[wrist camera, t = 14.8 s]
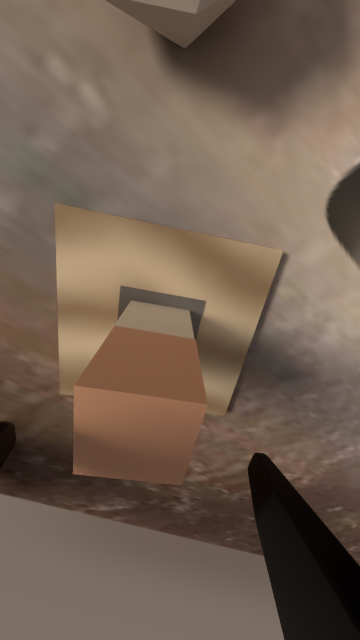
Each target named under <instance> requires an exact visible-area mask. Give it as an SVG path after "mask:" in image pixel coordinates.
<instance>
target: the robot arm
mask: <svg viewBox="0 0 360 640" xmlns="http://www.w3.org/2000/svg"><path fill="white" fill-rule="evenodd" d="M15 442H16V433H15V426H14V424H13V423H12V422H5V421H1V422H0V469H1V467H2V466H3V464H4V462H5V460H6V459H7V457H8V455H9V453H10V452H11V450H12V448H13V447H14V445H15ZM248 476H249V482H250V489H251V495H252V501H253V508H254V514H255V519H256V524H257V529H258V533H259V537H260V541H261V545H262V549H263V553H264V558H265V562H266V566H267V570H268V573H269V578H270V582H271V586H272V590H273V594H274V599H275V602H276V607H277V610H278V615H279V619H280V623H281V627H282V631H283V635H284V640H360V566H359V564H358V563H357V562H356V561H355V560H354V558H353V557H352V556H351V555H350V554H349V552H348V551H347V550H346V549H345V548H344V547H343V545H342V544H341V543H340V542H339V541H338V539H337V538H336V537H335V536H334V535H333V533H332V532H331V531H330V530H329V529H328V527H327V526H326V525H325V524H324V523H323V521H322V520H321V519H320V518H319V517H318V516H317V514H316V513H315V512H314V511H313V510H312V508H311V507H310V506H309V505H308V504H307V502H306V501H305V500H304V499H303V498H302V496H301V495H300V494H299V493H298V492H297V490H296V489H295V488H294V487H293V486H292V485H291V483H290V482H289V481H288V480H287V479H286V477H285V476H284V475H283V474H282V473H281V471H280V470H279V469H278V468H277V467H276V465H275V464H274V463H273V462H272V461H271V459H270V458H269V457H268V456H267V455H266V454H264V453H254V455H253V457H252V459H251V461H250V463H249V466H248Z"/></svg>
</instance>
